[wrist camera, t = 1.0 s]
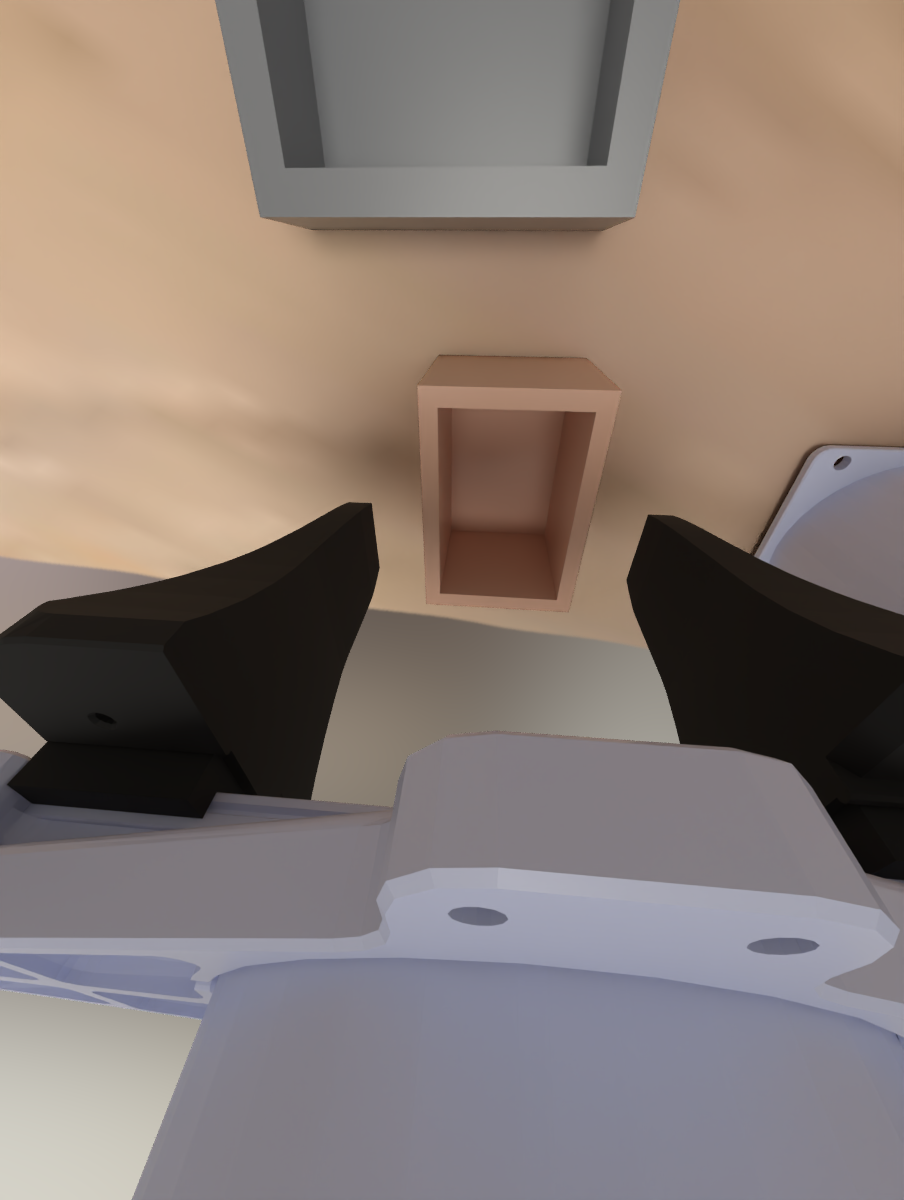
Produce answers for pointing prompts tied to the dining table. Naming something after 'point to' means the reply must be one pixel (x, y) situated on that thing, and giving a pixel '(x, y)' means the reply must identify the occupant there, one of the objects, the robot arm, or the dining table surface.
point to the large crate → (447, 110)
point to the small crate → (510, 476)
